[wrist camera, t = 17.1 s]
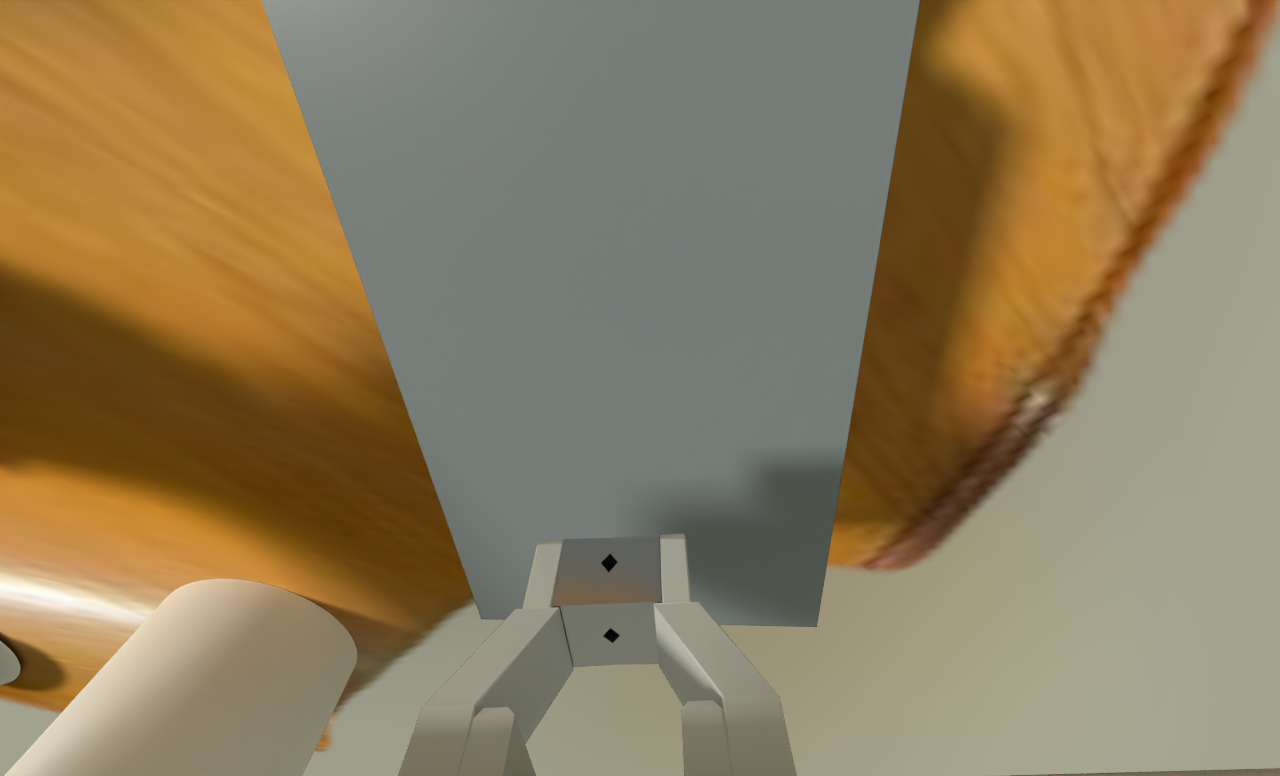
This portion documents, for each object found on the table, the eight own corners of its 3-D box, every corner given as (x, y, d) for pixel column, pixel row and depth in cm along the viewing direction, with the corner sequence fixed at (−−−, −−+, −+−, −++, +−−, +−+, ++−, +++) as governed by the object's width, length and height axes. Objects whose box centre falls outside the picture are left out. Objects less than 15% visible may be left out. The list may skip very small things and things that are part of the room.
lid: (488, 598, 23) (481, 619, 23) (282, -20, 12) (251, -28, 11) (811, 605, 22) (816, 626, 21) (916, -88, 11) (936, -102, 10)
